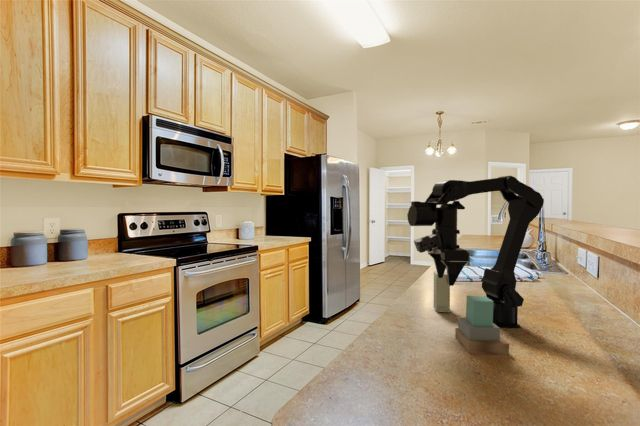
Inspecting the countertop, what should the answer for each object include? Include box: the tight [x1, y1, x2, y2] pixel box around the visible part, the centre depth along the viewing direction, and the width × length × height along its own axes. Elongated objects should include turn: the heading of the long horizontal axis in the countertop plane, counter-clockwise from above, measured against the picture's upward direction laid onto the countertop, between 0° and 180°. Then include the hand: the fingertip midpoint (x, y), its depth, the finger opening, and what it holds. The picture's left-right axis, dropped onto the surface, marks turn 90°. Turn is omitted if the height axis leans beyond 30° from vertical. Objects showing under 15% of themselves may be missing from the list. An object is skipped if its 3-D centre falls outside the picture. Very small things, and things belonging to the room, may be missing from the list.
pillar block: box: [465, 294, 494, 327], centre depth 81 cm, size 4×4×6 cm
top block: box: [457, 317, 501, 341], centre depth 81 cm, size 7×7×3 cm
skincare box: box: [433, 270, 451, 313], centre depth 108 cm, size 6×4×12 cm
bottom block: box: [454, 327, 510, 356], centre depth 81 cm, size 9×9×3 cm
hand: (445, 281), depth 92 cm, fingers open, 9 cm apart
